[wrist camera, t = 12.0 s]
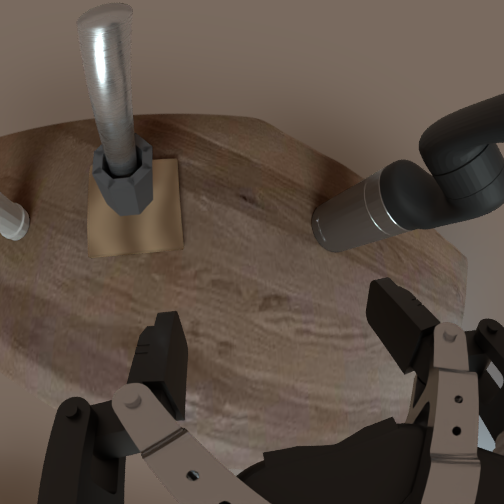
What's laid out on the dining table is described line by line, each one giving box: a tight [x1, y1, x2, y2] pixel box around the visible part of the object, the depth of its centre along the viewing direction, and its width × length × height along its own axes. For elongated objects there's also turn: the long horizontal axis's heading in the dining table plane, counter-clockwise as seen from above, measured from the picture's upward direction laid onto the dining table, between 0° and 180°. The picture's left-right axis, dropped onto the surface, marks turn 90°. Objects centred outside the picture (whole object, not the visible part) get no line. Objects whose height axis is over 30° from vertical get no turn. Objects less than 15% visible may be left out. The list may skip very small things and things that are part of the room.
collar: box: [92, 133, 153, 216], centre depth 28 cm, size 6×6×9 cm
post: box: [77, 3, 184, 258], centre depth 23 cm, size 14×14×32 cm
